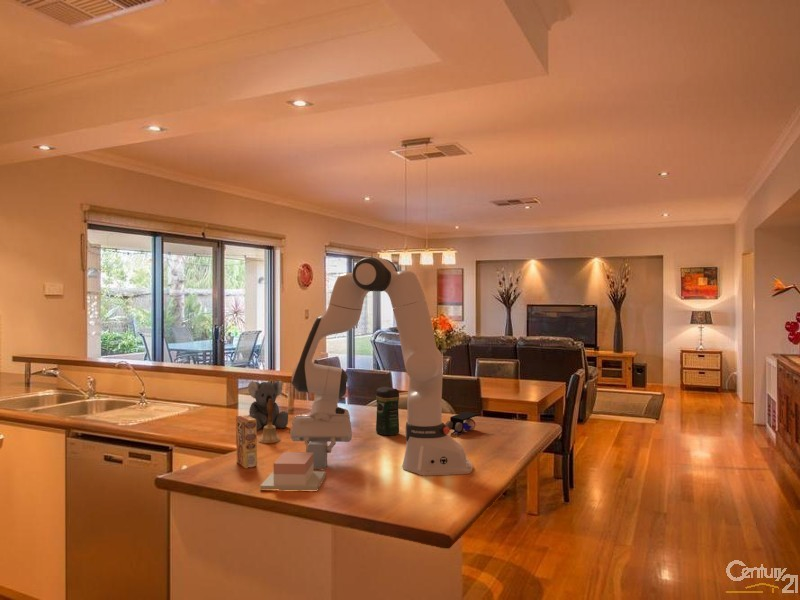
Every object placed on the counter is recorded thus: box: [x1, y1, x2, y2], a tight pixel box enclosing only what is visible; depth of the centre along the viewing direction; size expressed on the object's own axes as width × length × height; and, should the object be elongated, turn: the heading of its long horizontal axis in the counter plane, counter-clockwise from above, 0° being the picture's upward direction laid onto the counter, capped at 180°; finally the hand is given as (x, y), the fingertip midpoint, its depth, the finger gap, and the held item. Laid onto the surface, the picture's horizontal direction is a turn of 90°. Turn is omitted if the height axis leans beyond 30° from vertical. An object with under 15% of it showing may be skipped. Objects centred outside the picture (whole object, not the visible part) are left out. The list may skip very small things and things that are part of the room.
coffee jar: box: [375, 386, 400, 436], centre depth 229 cm, size 10×8×19 cm
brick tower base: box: [259, 451, 327, 491], centre depth 167 cm, size 16×14×8 cm
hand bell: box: [257, 399, 281, 444], centre depth 217 cm, size 8×8×16 cm
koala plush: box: [247, 380, 289, 431], centre depth 243 cm, size 17×18×20 cm
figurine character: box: [445, 411, 479, 436], centre depth 231 cm, size 7×8×15 cm
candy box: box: [235, 414, 258, 469], centre depth 186 cm, size 9×4×15 cm, turn 35°
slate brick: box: [308, 440, 328, 470], centre depth 183 cm, size 5×5×8 cm
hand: (318, 451), depth 184 cm, fingers closed on slate brick, 5 cm apart
